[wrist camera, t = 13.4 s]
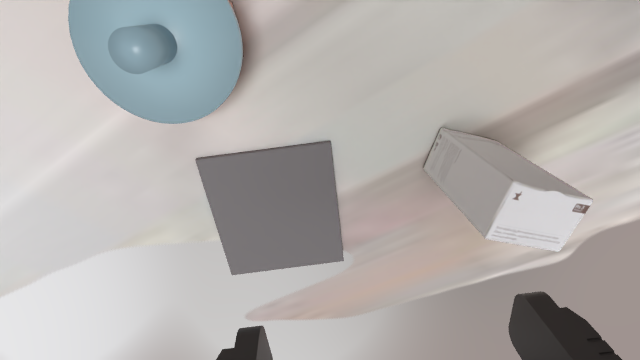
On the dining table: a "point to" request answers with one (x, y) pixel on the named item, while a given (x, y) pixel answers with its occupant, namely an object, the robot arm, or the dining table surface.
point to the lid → (159, 54)
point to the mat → (274, 206)
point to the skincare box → (504, 191)
